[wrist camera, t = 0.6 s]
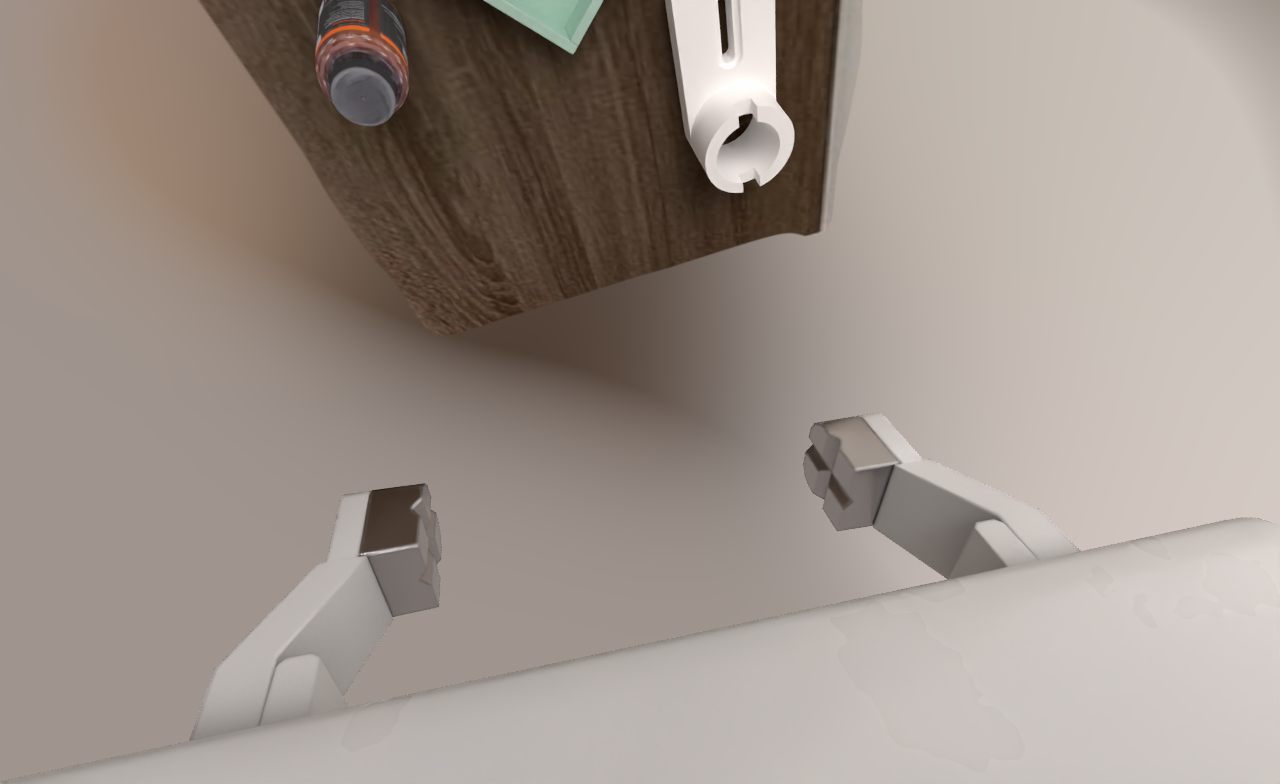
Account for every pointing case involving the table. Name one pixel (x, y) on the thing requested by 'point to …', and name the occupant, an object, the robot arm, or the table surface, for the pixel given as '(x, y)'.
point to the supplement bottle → (362, 59)
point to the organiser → (553, 18)
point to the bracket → (730, 89)
